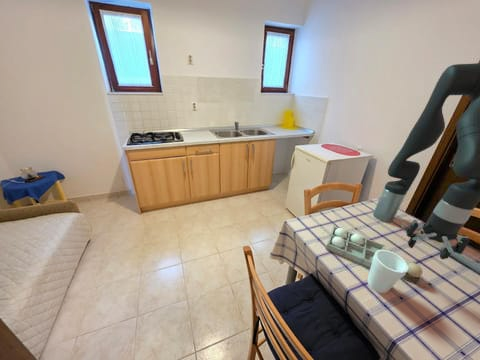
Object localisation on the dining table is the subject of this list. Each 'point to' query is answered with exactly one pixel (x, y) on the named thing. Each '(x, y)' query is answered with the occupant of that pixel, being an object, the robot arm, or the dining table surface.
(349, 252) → the egg carton
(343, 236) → the cream egg
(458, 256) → the kitchen whisk
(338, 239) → the cream egg
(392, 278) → the foam cup
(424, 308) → the dining table surface
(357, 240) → the cream egg
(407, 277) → the egg stand
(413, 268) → the beige sphere
